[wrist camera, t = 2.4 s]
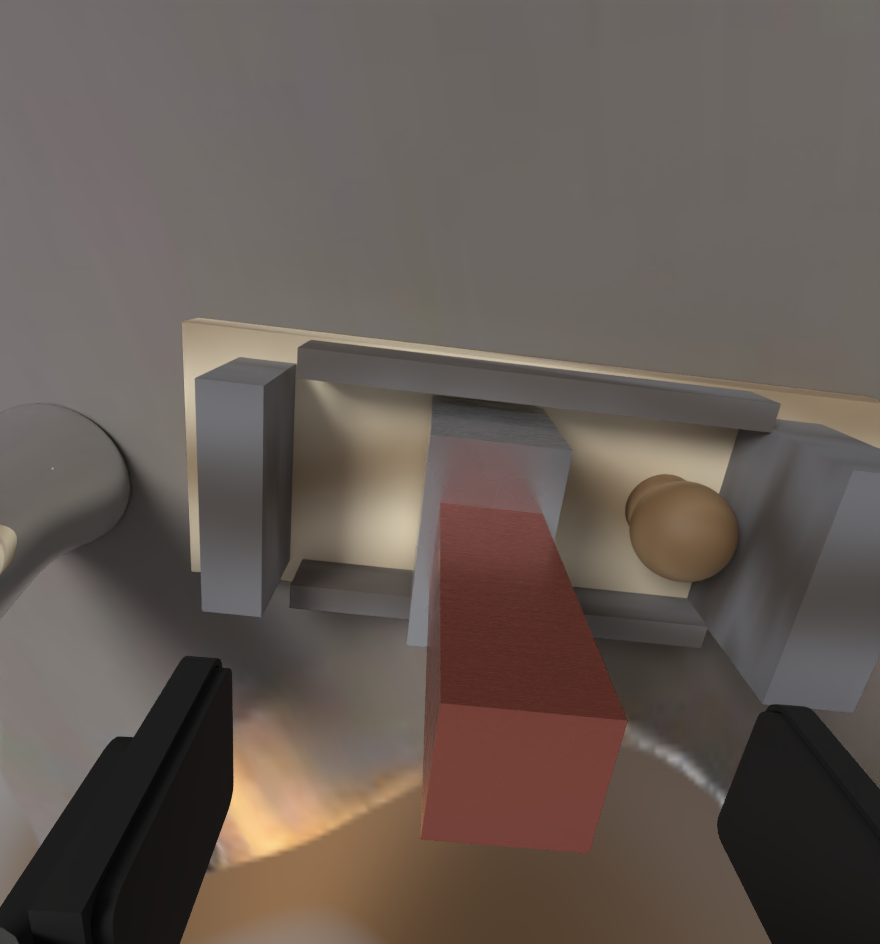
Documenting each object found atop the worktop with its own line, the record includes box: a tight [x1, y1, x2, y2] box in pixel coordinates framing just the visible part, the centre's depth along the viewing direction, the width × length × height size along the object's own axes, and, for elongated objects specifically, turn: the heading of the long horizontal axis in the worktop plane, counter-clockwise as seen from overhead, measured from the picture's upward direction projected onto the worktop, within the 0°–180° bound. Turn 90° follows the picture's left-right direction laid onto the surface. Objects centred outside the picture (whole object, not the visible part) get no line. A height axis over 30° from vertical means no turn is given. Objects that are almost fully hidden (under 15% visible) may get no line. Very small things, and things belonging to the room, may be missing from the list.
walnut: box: [625, 474, 739, 582], centre depth 21 cm, size 4×4×4 cm
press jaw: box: [406, 395, 627, 853], centre depth 16 cm, size 7×4×13 cm, turn 173°
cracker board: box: [182, 318, 880, 713], centre depth 20 cm, size 10×26×8 cm, turn 83°
